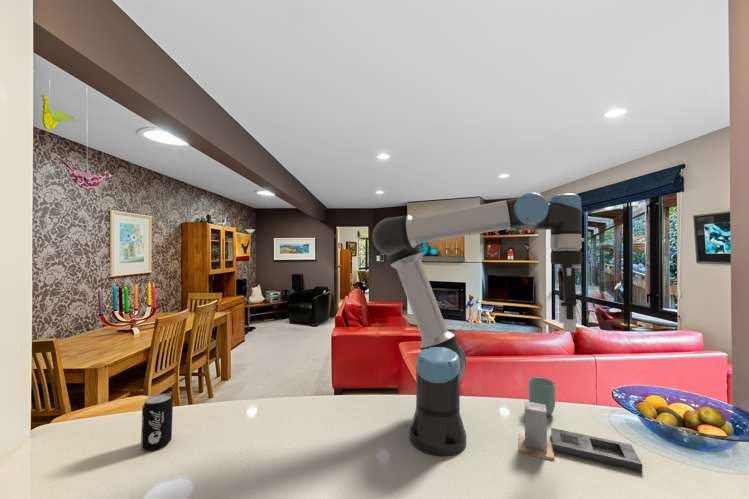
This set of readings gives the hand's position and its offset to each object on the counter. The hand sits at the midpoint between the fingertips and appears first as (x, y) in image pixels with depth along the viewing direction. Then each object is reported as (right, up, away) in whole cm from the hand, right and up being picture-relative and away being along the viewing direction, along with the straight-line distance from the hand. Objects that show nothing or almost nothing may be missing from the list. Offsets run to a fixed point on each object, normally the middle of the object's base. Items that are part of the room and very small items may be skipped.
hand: (566, 327), depth 88 cm
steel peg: (-11, -30, -5) cm, 32 cm away
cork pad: (-11, -30, -5) cm, 33 cm away
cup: (+1, -32, +15) cm, 35 cm away
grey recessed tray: (+3, -31, -6) cm, 31 cm away
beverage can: (-110, -30, -5) cm, 114 cm away
